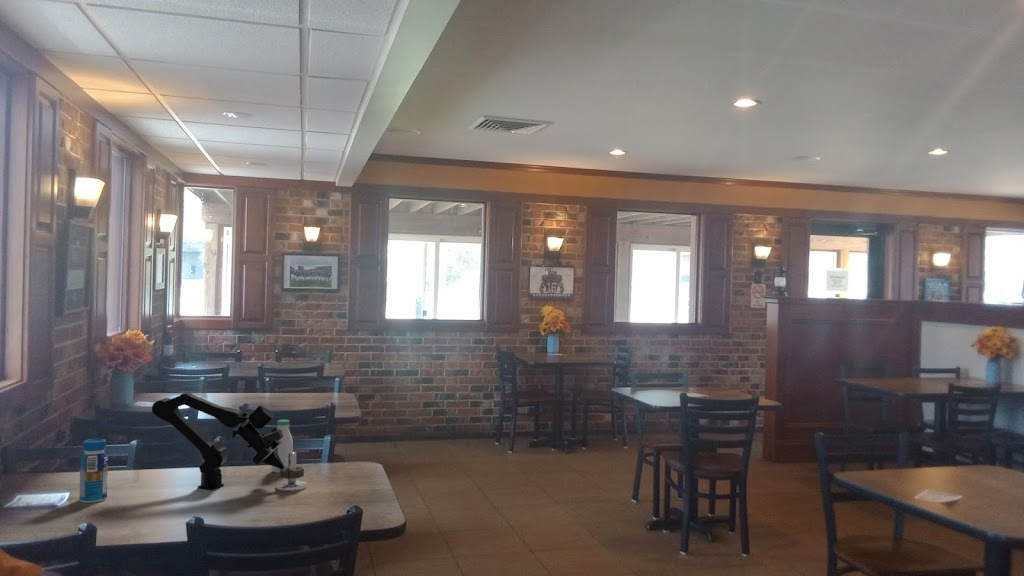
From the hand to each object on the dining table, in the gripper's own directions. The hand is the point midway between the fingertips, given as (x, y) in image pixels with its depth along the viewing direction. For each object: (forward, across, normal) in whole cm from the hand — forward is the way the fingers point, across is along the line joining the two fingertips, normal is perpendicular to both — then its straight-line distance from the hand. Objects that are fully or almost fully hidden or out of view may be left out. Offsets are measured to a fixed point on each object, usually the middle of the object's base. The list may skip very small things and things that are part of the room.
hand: (283, 468), depth 270 cm
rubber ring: (+4, 0, 0) cm, 4 cm away
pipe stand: (+7, 0, +3) cm, 8 cm away
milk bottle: (+1, +24, +9) cm, 26 cm away
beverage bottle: (-36, -16, +46) cm, 61 cm away
